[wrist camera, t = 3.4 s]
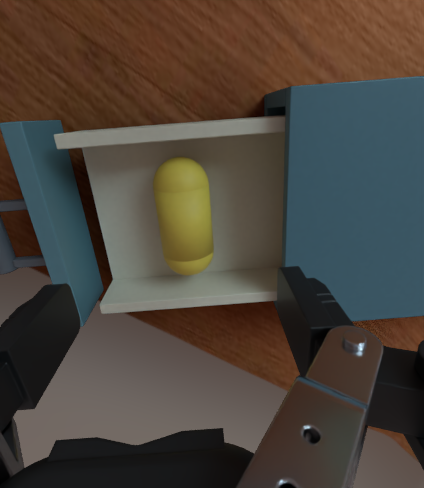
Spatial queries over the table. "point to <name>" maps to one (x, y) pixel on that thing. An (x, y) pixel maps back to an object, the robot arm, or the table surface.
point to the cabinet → (356, 191)
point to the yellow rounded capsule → (184, 215)
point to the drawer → (150, 210)
